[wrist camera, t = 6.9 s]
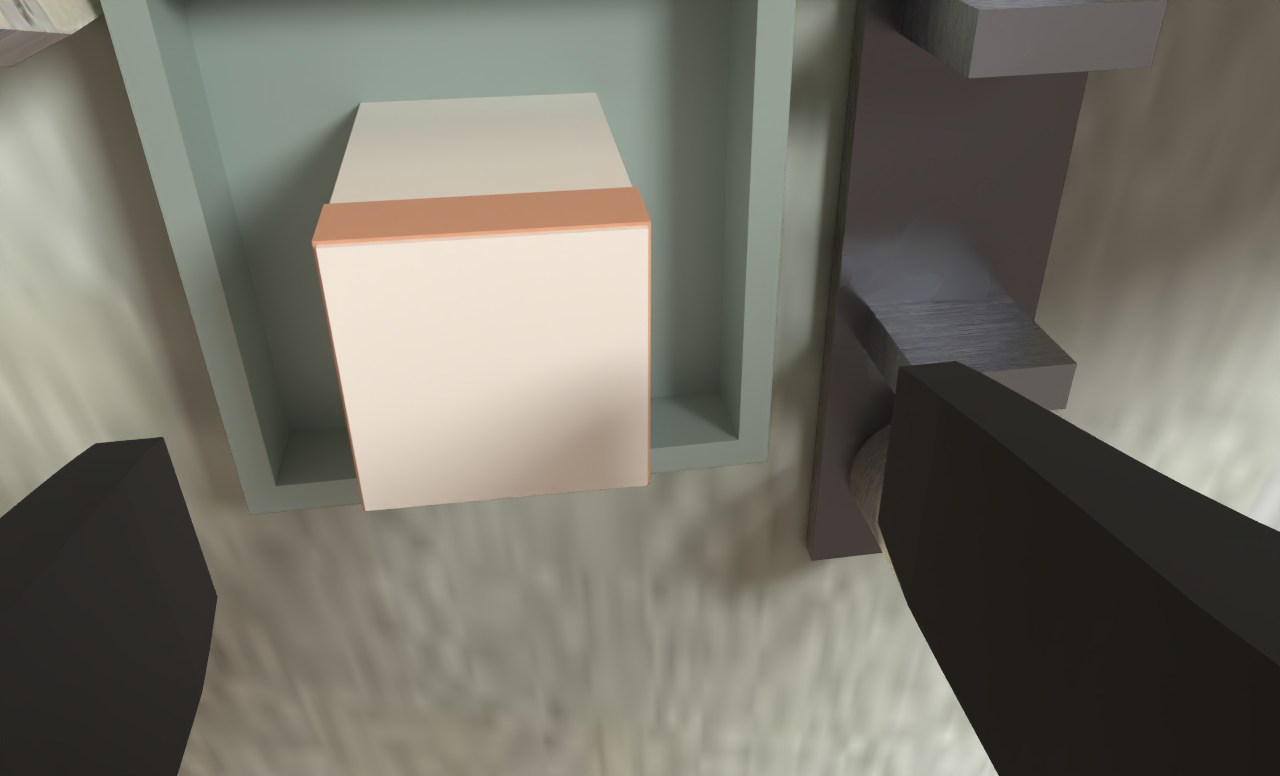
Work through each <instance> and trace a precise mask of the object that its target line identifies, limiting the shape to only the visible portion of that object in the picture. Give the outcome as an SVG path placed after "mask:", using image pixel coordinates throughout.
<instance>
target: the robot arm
mask: <svg viewBox="0 0 1280 776" xmlns="http://www.w3.org/2000/svg"><path fill="white" fill-rule="evenodd" d="M878 525H879V528H880V531H881V534H882V536H883V539H884V542H885V545H886V548H887V551H888V554H889V556H890V559H891V562H892V565H893V568H894V570H895V573H896V576H897V578H898V581H899V583H900V586H901V589H902V591H903V594H904V596H905V599H906V601H907V604H908V606H909V608H910V610H911V612H912V614H913V616H914V618H915V620H916V622H917V624H918V626H919V628H920V630H921V632H922V633H923V635H924V637H925V639H926V641H927V643H928V645H929V647H930V649H931V650H932V652H933V654H934V656H935V658H936V660H937V662H938V664H939V666H940V668H941V669H942V671H943V673H944V675H945V677H946V679H947V681H948V682H949V684H950V686H951V688H952V690H953V692H954V694H955V695H956V697H957V699H958V701H959V703H960V705H961V707H962V708H963V710H964V712H965V714H966V716H967V718H968V719H969V721H970V723H971V725H972V727H973V729H974V731H975V732H976V734H977V736H978V738H979V740H980V742H981V744H982V745H983V747H984V749H985V751H986V753H987V755H988V757H989V758H990V760H991V762H992V764H993V766H994V768H995V770H996V771H997V773H998V775H999V776H1280V532H1279V531H1277V530H1275V529H1272V528H1270V527H1268V526H1266V525H1264V524H1261V523H1259V522H1257V521H1255V520H1253V519H1251V518H1249V517H1247V516H1245V515H1243V514H1241V513H1239V512H1237V511H1235V510H1233V509H1231V508H1229V507H1227V506H1225V505H1223V504H1221V503H1219V502H1217V501H1215V500H1213V499H1211V498H1208V497H1206V496H1204V495H1202V494H1200V493H1198V492H1196V491H1194V490H1192V489H1190V488H1188V487H1186V486H1184V485H1182V484H1180V483H1179V482H1177V481H1175V480H1173V479H1171V478H1169V477H1167V476H1165V475H1163V474H1162V473H1160V472H1158V471H1156V470H1154V469H1152V468H1150V467H1148V466H1146V465H1145V464H1143V463H1141V462H1139V461H1137V460H1135V459H1134V458H1132V457H1130V456H1128V455H1126V454H1125V453H1123V452H1121V451H1119V450H1117V449H1116V448H1114V447H1112V446H1110V445H1108V444H1107V443H1105V442H1103V441H1101V440H1099V439H1098V438H1096V437H1094V436H1092V435H1091V434H1089V433H1087V432H1085V431H1083V430H1082V429H1080V428H1078V427H1076V426H1075V425H1073V424H1071V423H1069V422H1068V421H1066V420H1064V419H1062V418H1061V417H1059V416H1057V415H1055V414H1054V413H1052V412H1050V411H1048V410H1047V409H1045V408H1043V407H1042V406H1040V405H1038V404H1036V403H1035V402H1033V401H1031V400H1029V399H1028V398H1026V397H1024V396H1022V395H1020V394H1019V393H1017V392H1015V391H1013V390H1012V389H1010V388H1008V387H1006V386H1004V385H1003V384H1001V383H999V382H997V381H995V380H994V379H992V378H990V377H988V376H986V375H984V374H982V373H980V372H978V371H976V370H974V369H972V368H970V367H968V366H966V365H964V364H962V363H960V362H957V361H951V362H941V363H930V364H920V365H909V366H899V369H898V376H897V383H896V391H895V398H894V405H893V413H892V420H891V427H890V435H889V442H888V449H887V457H886V464H885V471H884V479H883V486H882V493H881V501H880V508H879V515H878ZM216 603H217V595H216V592H215V589H214V586H213V583H212V580H211V577H210V574H209V571H208V568H207V565H206V562H205V559H204V556H203V553H202V550H201V547H200V544H199V541H198V538H197V536H196V533H195V530H194V527H193V524H192V521H191V518H190V515H189V512H188V509H187V506H186V503H185V500H184V497H183V494H182V491H181V488H180V485H179V482H178V479H177V476H176V474H175V471H174V468H173V465H172V462H171V459H170V456H169V453H168V450H167V447H166V444H165V441H164V438H163V437H158V438H147V439H137V440H126V441H116V442H106V443H96V444H94V445H93V446H91V447H90V448H88V449H87V450H86V451H84V452H83V453H81V454H80V455H78V456H77V457H76V458H74V459H73V460H72V461H70V462H69V463H68V464H66V465H65V466H64V467H63V468H61V469H60V470H59V471H58V472H56V473H55V474H54V475H52V476H51V477H50V478H49V479H47V480H46V481H45V482H44V483H43V484H41V485H40V486H39V487H38V488H36V489H35V490H34V491H33V492H31V493H30V494H29V495H28V496H27V497H25V498H24V499H23V500H22V501H20V502H19V503H18V504H17V505H16V506H14V507H13V508H12V509H11V510H10V511H8V512H7V513H6V514H5V515H3V516H2V517H1V518H0V776H177V774H178V771H179V768H180V764H181V761H182V758H183V754H184V751H185V748H186V745H187V741H188V738H189V735H190V731H191V728H192V725H193V722H194V718H195V715H196V711H197V708H198V704H199V701H200V698H201V694H202V690H203V684H204V679H205V673H206V667H207V662H208V656H209V650H210V644H211V637H212V630H213V623H214V616H215V610H216Z"/></svg>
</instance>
